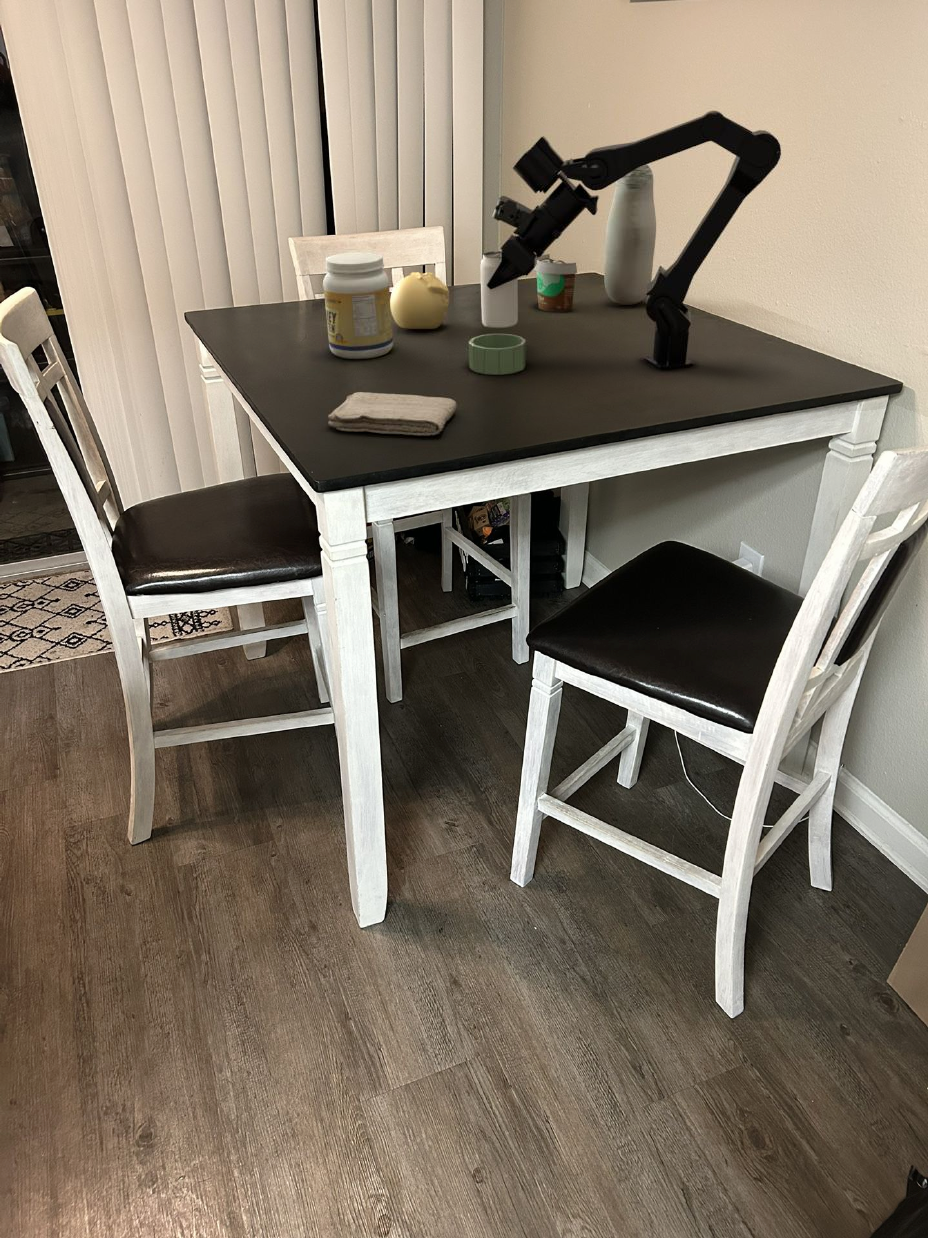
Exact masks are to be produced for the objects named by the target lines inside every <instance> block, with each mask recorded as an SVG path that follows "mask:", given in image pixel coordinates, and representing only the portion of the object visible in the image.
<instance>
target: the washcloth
mask: <svg viewBox="0 0 928 1238" xmlns="http://www.w3.org/2000/svg"><path fill="white" fill-rule="evenodd" d="M457 406H458V405H457V402H456V401H455V400H454V399H452V398H448V397H440V396H439V397H438V396H424V395H419V394H418V395H416V394H415V395H414V394H402V393H401V394H396V393H384V392H383V393H380V392H379V393H378V392H368V391H367V392H362V391H358V392H354V393H353V394H349V395H347V396H346V400H345V401H344V402H343V403H342V404H340V405H339V406H338V407H336V408H335V409H334V410H333V411H332V412H331V413H330V414H328V415H327V418H328V420H329V421H328V426H330V427H331V428H335V429H336V430H337V431H338V430H339V431H343V432H369V433H376V434H388V435H404V436H405V435H406V436H422V437H423V436H436V435H438V434H440V433H441V432H442V431H443V429H444V428H445V425H446V423H447V422H448V421H450V419H451V418H452V416H453V415H454V413H455V412H456V410H457Z"/></svg>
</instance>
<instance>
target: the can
mask: <svg viewBox="0 0 928 1238" xmlns="http://www.w3.org/2000/svg"><path fill="white" fill-rule="evenodd" d="M501 261H502V254H501V250H492V251H487V252H484V253H482V259H481V262H480V304H481V305H480V306H481V307H480V308H481V324H482V325H483V326H484V327H485V328H489V329H499V330H500V329H508V328H512V327H515V326H516V325H517V323H518V322H519V321H518V320H519V297H518V296H519V293H518V291H519V289H518V288H519V286H518V283H519V281H518V280H519V278H516V279H514V280H512V281H509V282H507V283H505V284H502V285H500V286H498V287H496V288H493V289H489V288H488V287H487V283H488V282H489V280H490V279H491V277H492V275H493V274H494V272H495V270H496V269H497V267H498V266H499V264H500V262H501Z"/></svg>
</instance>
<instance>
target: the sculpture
mask: <svg viewBox="0 0 928 1238" xmlns="http://www.w3.org/2000/svg"><path fill="white" fill-rule="evenodd" d="M449 304H450V291H449V288H448V286H447V285H446V284H444V283H443V281H442V280H441V279H440V278H438V277H437V276H435V274H434V273H433V272H428V271H427V272H425V273H422V272H420V271H418V272H414V271H412V272H411V273H410V274H409V275H407V276H405V277H403V278H401V279H400V280H399V281H397V283H396V284H395V285H394V287H393V289H392V290H391V293H390V306H391V317H392V318H393V321H395V323H396V325H397V326H398V327H399V328H402V329H407V330H433V329H434V330H435V329H437V328H439V327H440V326H441V324H442V323H443V322H444V320H445V319H446V318H447V311H448V308H449Z"/></svg>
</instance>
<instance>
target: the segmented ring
mask: <svg viewBox="0 0 928 1238" xmlns="http://www.w3.org/2000/svg"><path fill="white" fill-rule="evenodd" d="M526 358H527V340H526V339H525V338H524V337H522V336H520V335H515V334H510V333H487V334H480V335H477V336H475V337H472V338H470V340H469V341H468V362H469V363H468V368H469V369H470V370H471V371H473V372H474V373H478V374H481V375H482V374H483V375H492V376H493V375H494V376H495V375H496V376H500V375H501V376H502V375H510V374H511V375H512V374H516V373H518V372H520V371H524V369H525V368H526V366H527V365H526V363H527V362H526V361H527V359H526Z"/></svg>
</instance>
